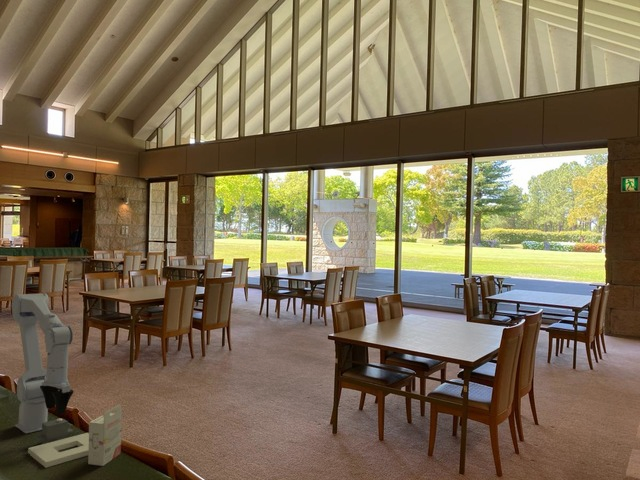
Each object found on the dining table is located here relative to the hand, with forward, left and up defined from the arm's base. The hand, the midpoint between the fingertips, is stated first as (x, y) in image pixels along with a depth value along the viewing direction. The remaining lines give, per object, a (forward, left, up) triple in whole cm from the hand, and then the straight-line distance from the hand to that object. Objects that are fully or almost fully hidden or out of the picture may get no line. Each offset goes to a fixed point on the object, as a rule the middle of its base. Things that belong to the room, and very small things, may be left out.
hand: (55, 411), depth 151 cm
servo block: (0, 0, -9) cm, 9 cm away
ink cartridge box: (+22, +5, -10) cm, 25 cm away
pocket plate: (+10, 0, -9) cm, 14 cm away
